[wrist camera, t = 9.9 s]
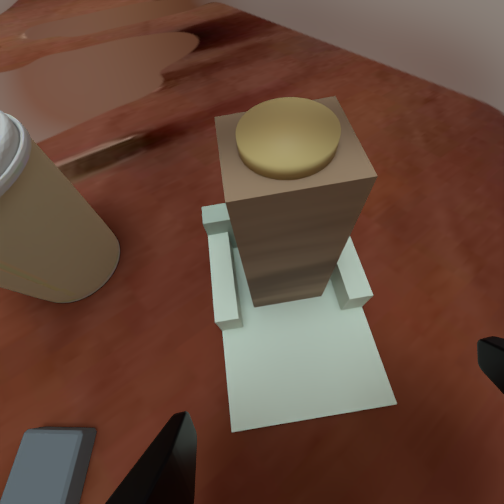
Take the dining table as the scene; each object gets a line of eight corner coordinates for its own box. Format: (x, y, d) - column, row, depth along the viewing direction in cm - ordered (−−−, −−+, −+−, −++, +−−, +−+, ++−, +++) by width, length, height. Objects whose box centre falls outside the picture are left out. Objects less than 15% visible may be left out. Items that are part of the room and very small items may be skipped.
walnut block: (321, 296, 19) (384, 161, 8) (254, 307, 19) (221, 189, 8) (306, 243, 21) (338, 80, 10) (245, 254, 21) (211, 102, 10)
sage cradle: (390, 403, 16) (432, 407, 12) (234, 430, 16) (218, 444, 12) (326, 222, 23) (338, 183, 19) (216, 242, 23) (201, 207, 19)
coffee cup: (53, 219, 26) (-99, 101, 15) (142, 220, 25) (43, 95, 14) (5, 310, 22) (-252, 234, 11) (110, 316, 21) (-64, 238, 10)
